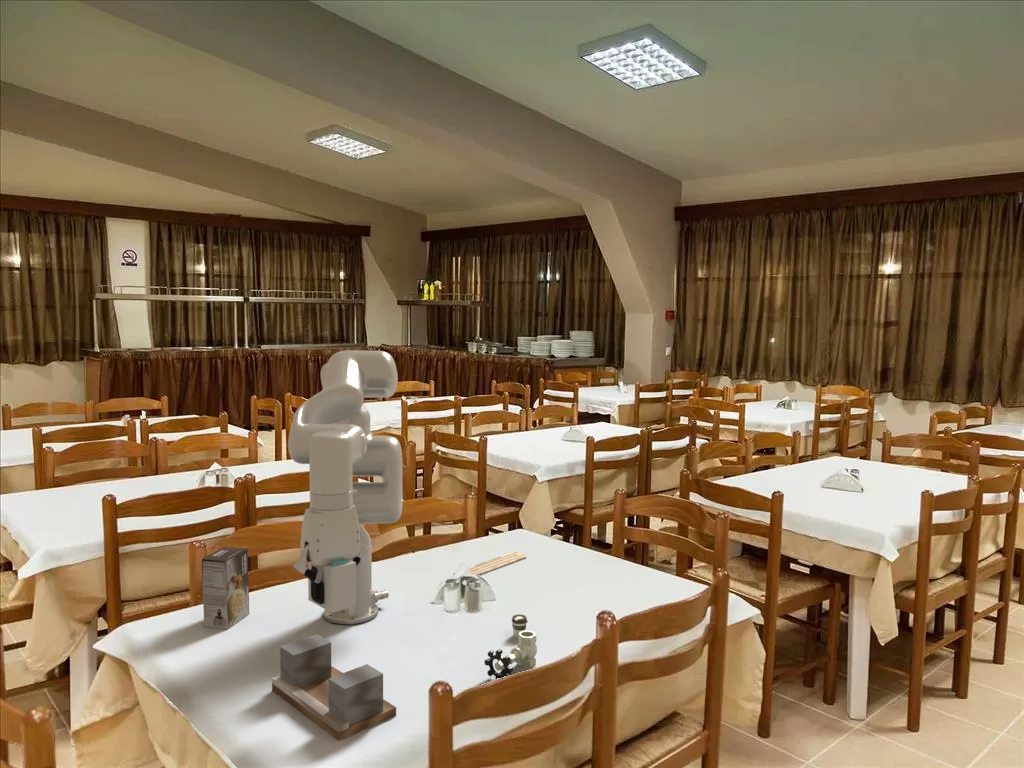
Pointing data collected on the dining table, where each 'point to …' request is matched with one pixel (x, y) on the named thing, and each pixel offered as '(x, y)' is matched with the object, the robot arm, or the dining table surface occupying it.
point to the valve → (514, 656)
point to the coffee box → (225, 587)
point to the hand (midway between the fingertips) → (331, 596)
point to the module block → (337, 585)
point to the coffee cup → (519, 624)
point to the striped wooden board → (496, 563)
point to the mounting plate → (330, 689)
